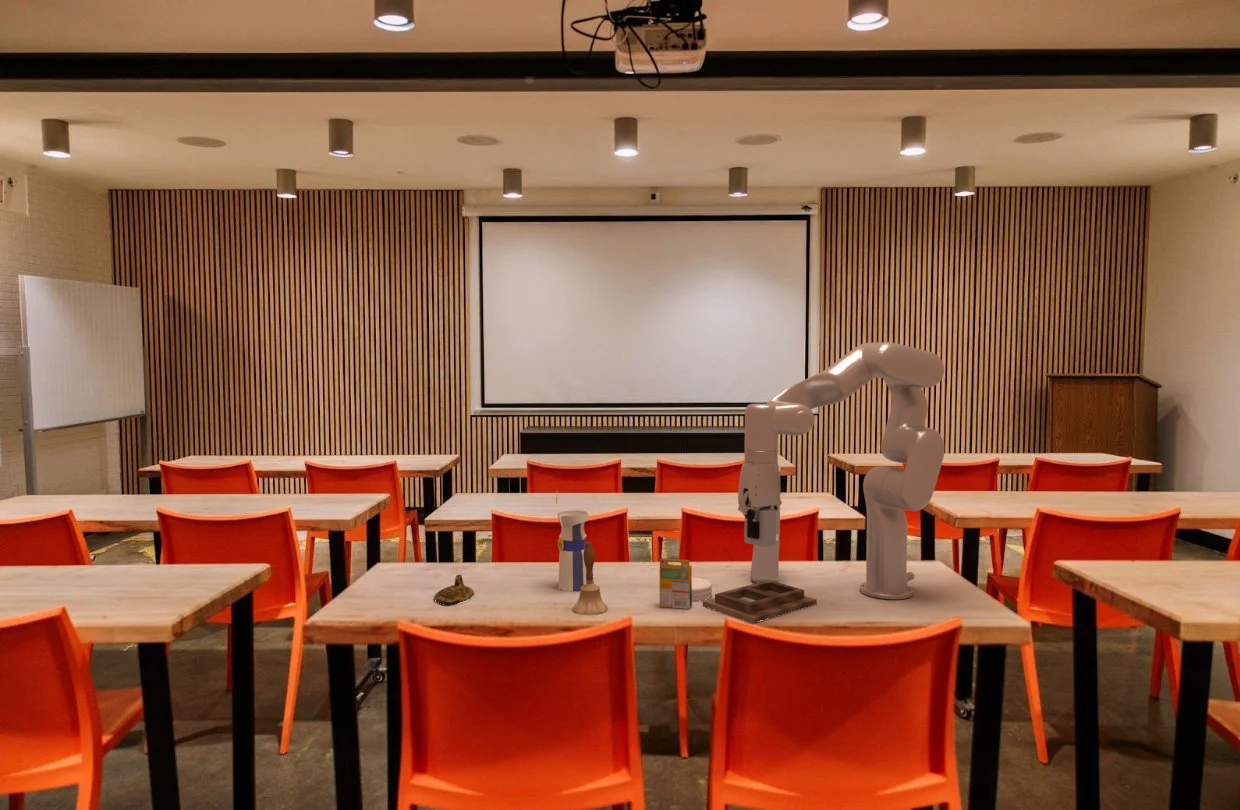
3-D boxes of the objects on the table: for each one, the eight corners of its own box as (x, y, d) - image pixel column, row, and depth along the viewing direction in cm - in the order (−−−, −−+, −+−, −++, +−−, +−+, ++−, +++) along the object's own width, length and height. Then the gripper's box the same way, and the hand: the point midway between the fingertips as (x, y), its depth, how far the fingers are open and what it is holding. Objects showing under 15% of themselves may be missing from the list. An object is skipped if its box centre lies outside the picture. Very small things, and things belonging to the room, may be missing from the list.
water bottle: (563, 594, 196) (562, 494, 194) (552, 585, 203) (551, 489, 202) (594, 590, 199) (593, 492, 198) (582, 581, 207) (581, 487, 205)
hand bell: (595, 617, 178) (594, 547, 177) (565, 611, 182) (564, 543, 181) (614, 607, 185) (614, 540, 184) (585, 602, 189) (585, 536, 188)
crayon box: (692, 605, 186) (692, 557, 185) (689, 609, 183) (689, 560, 182) (661, 603, 188) (661, 555, 187) (659, 607, 185) (659, 558, 184)
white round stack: (720, 595, 195) (720, 581, 194) (695, 605, 187) (695, 590, 187) (687, 588, 201) (687, 574, 201) (663, 596, 194) (663, 582, 194)
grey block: (755, 539, 184) (756, 506, 184) (775, 544, 180) (776, 509, 179) (744, 542, 182) (744, 508, 182) (764, 547, 177) (764, 511, 177)
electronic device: (779, 585, 203) (780, 469, 201) (750, 583, 204) (750, 469, 203) (779, 572, 215) (780, 463, 213) (751, 571, 216) (752, 462, 215)
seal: (467, 611, 187) (477, 592, 202) (469, 592, 186) (479, 574, 201) (428, 607, 186) (440, 588, 201) (430, 588, 186) (442, 570, 201)
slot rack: (765, 589, 199) (765, 576, 199) (816, 604, 187) (816, 591, 186) (702, 606, 185) (702, 592, 185) (753, 623, 173) (753, 609, 173)
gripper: (771, 453, 188) (770, 529, 189) (723, 458, 177) (722, 538, 178) (797, 456, 182) (795, 534, 183) (749, 461, 172) (747, 544, 173)
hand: (759, 535), depth 181 cm, fingers closed on grey block, 4 cm apart
